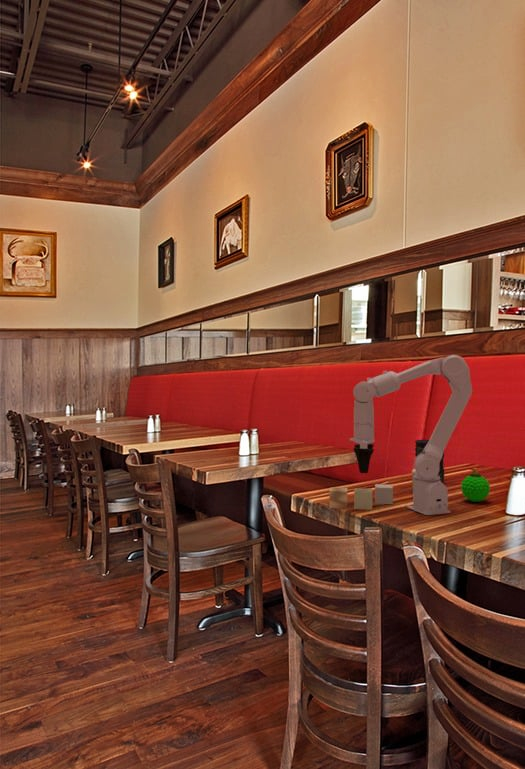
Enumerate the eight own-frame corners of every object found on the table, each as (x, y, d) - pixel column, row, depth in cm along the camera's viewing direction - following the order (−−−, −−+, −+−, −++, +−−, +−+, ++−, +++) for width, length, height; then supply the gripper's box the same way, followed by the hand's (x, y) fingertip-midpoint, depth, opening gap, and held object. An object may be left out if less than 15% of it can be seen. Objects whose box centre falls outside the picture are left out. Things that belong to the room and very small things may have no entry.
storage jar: (414, 485, 187) (414, 442, 187) (415, 480, 196) (415, 439, 196) (445, 487, 184) (445, 443, 184) (444, 481, 193) (444, 440, 193)
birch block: (347, 505, 159) (347, 488, 159) (347, 509, 154) (347, 491, 154) (330, 504, 160) (330, 487, 160) (329, 508, 155) (329, 490, 155)
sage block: (371, 505, 158) (371, 488, 158) (372, 510, 153) (372, 492, 153) (354, 505, 159) (354, 488, 159) (354, 509, 154) (354, 491, 154)
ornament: (495, 504, 159) (495, 470, 159) (471, 505, 157) (471, 471, 157) (479, 498, 167) (479, 465, 167) (455, 499, 165) (455, 466, 165)
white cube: (391, 501, 164) (392, 484, 164) (392, 505, 159) (392, 488, 159) (375, 500, 164) (375, 484, 164) (375, 504, 160) (375, 487, 159)
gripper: (350, 421, 164) (350, 466, 164) (348, 425, 150) (348, 474, 150) (374, 421, 162) (374, 466, 163) (375, 425, 148) (374, 475, 148)
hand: (363, 470), depth 156 cm, fingers open, 7 cm apart
